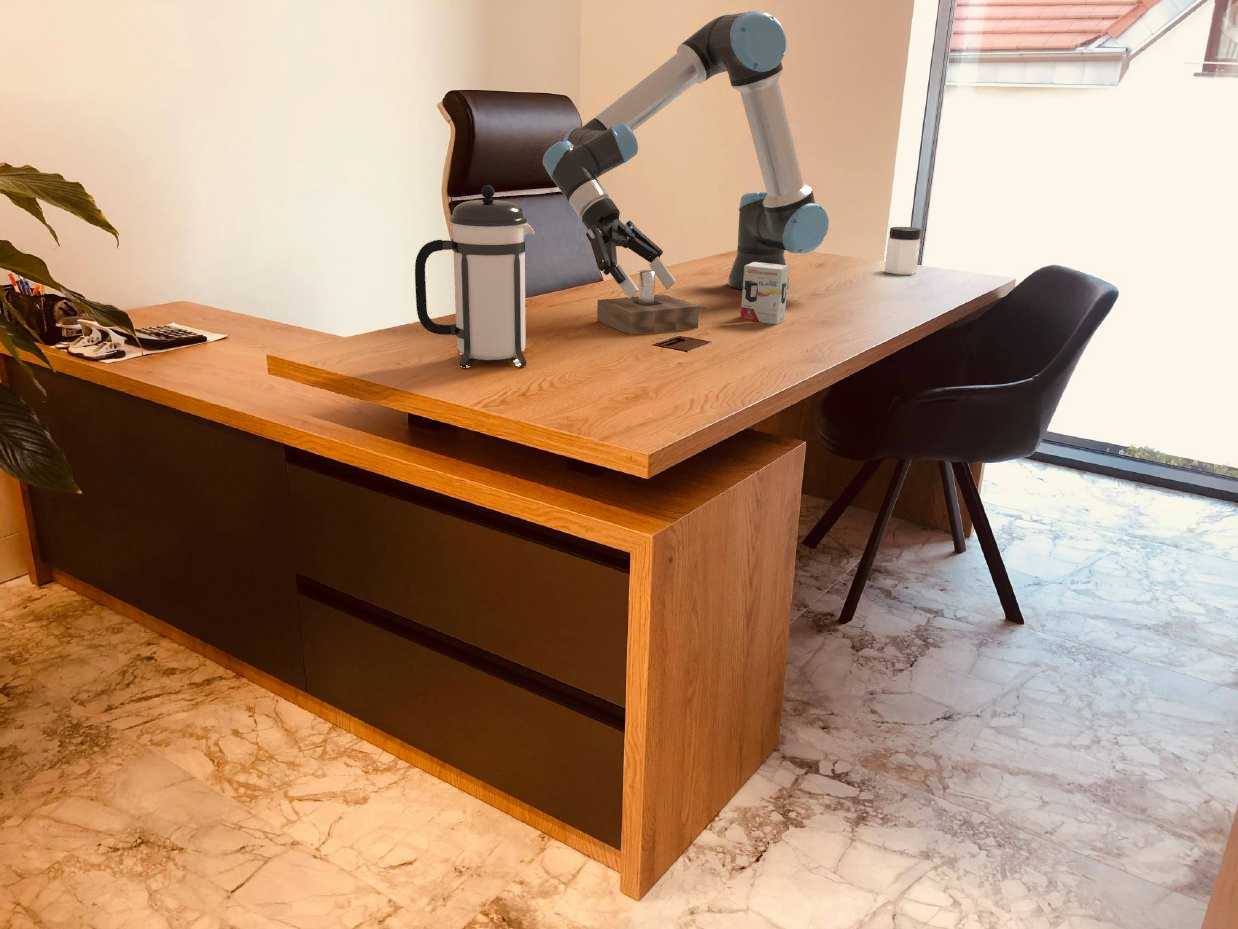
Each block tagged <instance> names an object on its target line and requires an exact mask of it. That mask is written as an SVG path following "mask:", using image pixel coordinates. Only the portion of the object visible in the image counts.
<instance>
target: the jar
mask: <svg viewBox="0 0 1238 929" xmlns="http://www.w3.org/2000/svg"><path fill="white" fill-rule="evenodd" d="M921 231H922V230H921V228H918V227H912V226H893V227H892V226H891V227H890V229H889V232H888V233H889V237H888V238H887V246H886V254H885V264H884V273H888V274H892V275H899V276H900V275H904V276H906V275H907V276H908V275H909V276H913V275H914V274H916V273H917V270H918V261H919V252H920V246H921Z"/></svg>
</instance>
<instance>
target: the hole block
mask: <svg viewBox="0 0 1238 929" xmlns="http://www.w3.org/2000/svg"><path fill="white" fill-rule="evenodd" d="M638 299H639V295H638V296H633V297H632V298H631V299H629V298H628V297H627V296H626V297H617V298H616V297H615V298H604V299H597V311H596V312H597V313H596V314H597V315H596V317H597V318H596V319H597V320H596V321H597V322H598V323H601V324H603V325H605V326H607V327H610V328H612V329H616V330H618V331H620V332H622V333H625V334H627V335H629V336H631V335H632V336H633V335H643V334H644V335H645V334H654V333H662V332H671V331H672V332H673V331H674V332H675V331H683V330H684V331H685V330H691V329H692V330H693V329H698V328H699V317H700V316H699V315H700V309H699V306H700V305H698V304H695V303H692V302H689V301H686V300H683V301H682V300H681V299H679V298H676V297H672V296H671V295H670V296H669V295H667V294H663V293H662V294H654V305H651V306H642V305H639V304H638ZM685 301H686V302H685ZM688 302H689V303H688ZM691 303H692V304H691ZM694 304H695V305H694ZM697 305H698V306H697Z"/></svg>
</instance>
